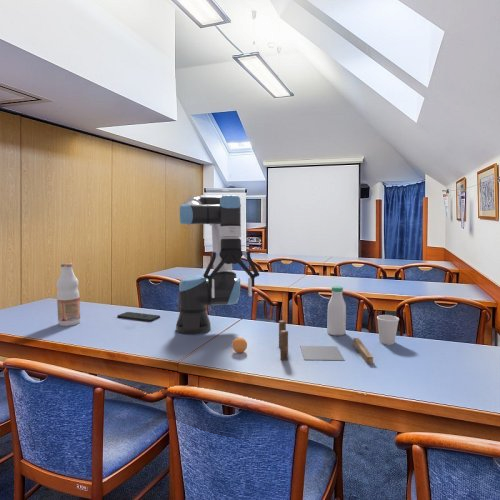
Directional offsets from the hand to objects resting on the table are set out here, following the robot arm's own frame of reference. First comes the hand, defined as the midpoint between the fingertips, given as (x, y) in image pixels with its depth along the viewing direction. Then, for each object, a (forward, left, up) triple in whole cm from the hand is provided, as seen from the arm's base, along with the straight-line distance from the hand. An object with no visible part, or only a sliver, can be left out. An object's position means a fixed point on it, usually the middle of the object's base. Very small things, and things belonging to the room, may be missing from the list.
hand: (231, 296), depth 142 cm
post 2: (+19, -6, -21) cm, 29 cm away
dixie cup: (+61, +13, -21) cm, 66 cm away
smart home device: (-49, +46, -22) cm, 71 cm away
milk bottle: (+43, +24, -21) cm, 54 cm away
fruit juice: (-78, +35, -21) cm, 88 cm away
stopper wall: (+48, 0, -21) cm, 52 cm away
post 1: (+19, +7, -21) cm, 29 cm away
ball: (+3, 0, -18) cm, 18 cm away
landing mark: (+33, 0, -21) cm, 39 cm away
